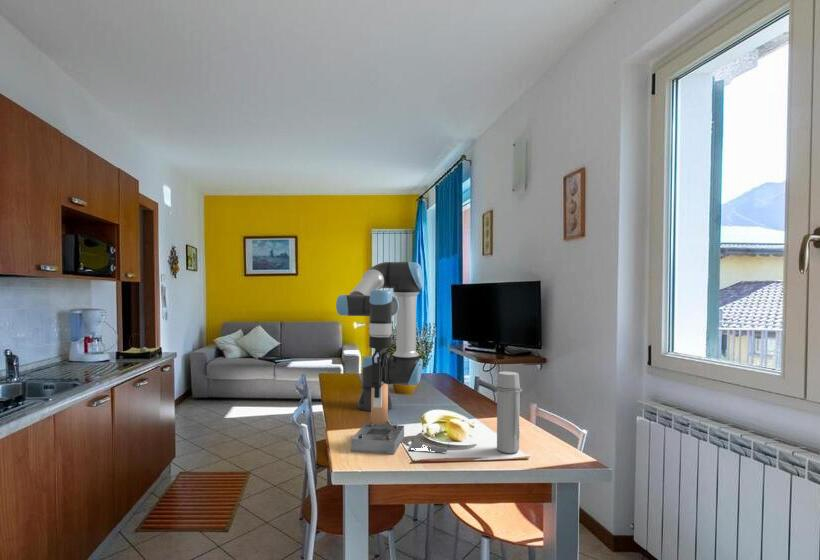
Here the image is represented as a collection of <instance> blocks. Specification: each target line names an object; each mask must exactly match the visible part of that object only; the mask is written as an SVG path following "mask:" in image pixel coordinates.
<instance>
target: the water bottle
mask: <svg viewBox="0 0 820 560" xmlns="http://www.w3.org/2000/svg"><path fill="white" fill-rule="evenodd" d="M496 382H497V383H496V388H497V389H496V390H497V391H496V394H497V395H496V404H497V405H496V449H497V450H498V451H499V452H501V453H504V454H516V453H518V452H519V451H520V433H521V432H520V401H521V400H520V397H521V396H520V393H521V392H522V390H523V389H522V388H521V387H520V386H521V385H520V375H519V373H518V372H514V371H499V372H498V373H497V381H496Z"/></svg>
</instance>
